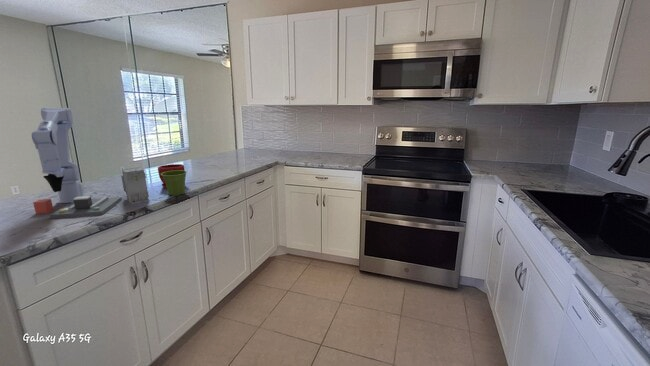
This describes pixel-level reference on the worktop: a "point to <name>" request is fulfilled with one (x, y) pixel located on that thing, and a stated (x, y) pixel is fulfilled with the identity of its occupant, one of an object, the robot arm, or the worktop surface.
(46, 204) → the red rectangular block
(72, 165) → the robot arm
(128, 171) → the circuit breaker
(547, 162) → the worktop surface
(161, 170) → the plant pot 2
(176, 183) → the plant pot
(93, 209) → the breaker panel
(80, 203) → the breaker handle
